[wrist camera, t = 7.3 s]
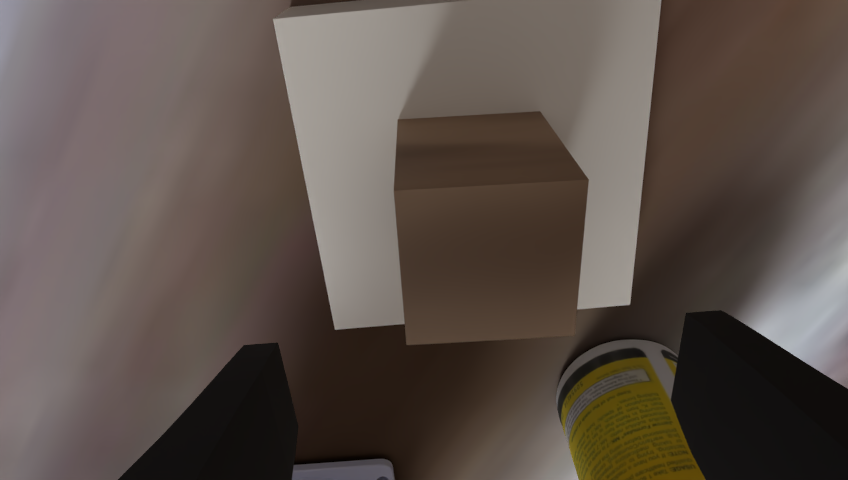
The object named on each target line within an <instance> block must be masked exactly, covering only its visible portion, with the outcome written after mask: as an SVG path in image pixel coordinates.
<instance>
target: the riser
mask: <svg viewBox="0 0 848 480" xmlns="http://www.w3.org/2000/svg"><path fill="white" fill-rule="evenodd" d="M660 9H661V0H357V1H347V2H336V3H326V4H315V5H305V6H295V7H289V8H288V9H286V10H285V11H284V12H282V13H281V14H279V15H278V16H277V17H275V18H274V19H273V22H274V27H275V32H276V37H277V42H278V47H279V52H280V57H281V62H282V67H283V72H284V77H285V82H286V87H287V92H288V97H289V102H290V107H291V112H292V117H293V122H294V127H295V132H296V137H297V142H298V147H299V152H300V157H301V162H302V167H303V172H304V177H305V182H306V187H307V192H308V197H309V202H310V207H311V212H312V217H313V222H314V227H315V232H316V237H317V242H318V247H319V252H320V257H321V263H322V268H323V273H324V278H325V283H326V288H327V293H328V298H329V303H330V308H331V313H332V318H333V323H334V328H335V330H339V329H351V328H362V327H374V326H386V325H398V324H405V322H404V310H403V298H402V286H401V273H400V261H399V249H398V237H397V225H396V213H395V201H394V175H395V157H396V140H397V122H398V119H414V118H431V117H448V116H466V115H483V114H501V113H518V112H535V111H540V112H541V113H542V115H543V116H544V117H545V119H546V120H547V122H548V123H549V124H550V126H551V127H552V129H553V130H554V131H555V133H556V134H557V136H558V137H559V138H560V140H561V141H562V143H563V144H564V145H565V147H566V148H567V150H568V151H569V153H570V154H571V155H572V157H573V158H574V160H575V161H576V162H577V164H578V165H579V167H580V168H581V169H582V171H583V172H584V174H585V175H586V176H587V178H588V179H589V183H588V194H587V205H586V216H585V227H584V238H583V249H582V260H581V272H580V283H579V294H578V305H577V309H587V308H599V307H610V306H622V305H630V301H631V291H632V281H633V272H634V262H635V252H636V243H637V233H638V223H639V213H640V204H641V194H642V184H643V174H644V165H645V155H646V145H647V136H648V126H649V116H650V106H651V97H652V87H653V77H654V68H655V58H656V48H657V38H658V29H659V19H660Z"/></svg>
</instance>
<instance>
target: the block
mask: <svg viewBox="0 0 848 480" xmlns="http://www.w3.org/2000/svg"><path fill="white" fill-rule="evenodd" d="M588 183H589V179H588V178H587V176H586V175H585V174H584V172H583V171H582V169H581V168H580V167H579V165H578V164H577V162H576V161H575V160H574V158H573V157H572V155H571V154H570V153H569V151H568V150H567V148H566V147H565V145H564V144H563V143H562V141H561V140H560V138H559V137H558V136H557V134H556V133H555V131H554V130H553V129H552V127H551V126H550V124H549V123H548V122H547V120H546V119H545V117H544V116H543V115H542V113H541V112H540V111H535V112H518V113H501V114H483V115H466V116H448V117H431V118H414V119H398V122H397V140H396V157H395V175H394V201H395V213H396V225H397V237H398V249H399V261H400V273H401V286H402V298H403V310H404V322H405V334H406V345H421V344H439V343H457V342H475V341H493V340H511V339H528V338H546V337H564V336H575V327H576V316H577V305H578V294H579V283H580V272H581V260H582V249H583V238H584V227H585V216H586V205H587V194H588Z"/></svg>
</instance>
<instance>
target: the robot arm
mask: <svg viewBox="0 0 848 480" xmlns="http://www.w3.org/2000/svg"><path fill="white" fill-rule="evenodd" d="M671 402H672V405H673V408H674V410H675V413H676V416H677V418H678V421H679V424H680V426H681V429H682V431H683V434H684V436H685V439H686V441H687V444H688V446H689V449H690V451H691V453H692V455H693V457H694V459H695V461H696V463H697V465H698V467H699V468H700V470H701V472H702V474H703V476H704V478H705V480H848V389H847V388H845V387H844V386H842V385H840V384H839V383H837V382H835V381H834V380H832V379H831V378H829V377H827V376H826V375H824V374H822V373H821V372H819V371H818V370H816V369H814V368H813V367H811V366H810V365H808V364H806V363H805V362H803V361H802V360H800V359H799V358H797V357H795V356H794V355H792V354H791V353H789V352H788V351H786V350H784V349H783V348H781V347H780V346H778V345H777V344H775V343H773V342H772V341H770V340H769V339H767V338H766V337H764V336H763V335H761V334H759V333H758V332H756V331H755V330H753V329H751V328H750V327H748V326H747V325H745V324H743V323H742V322H740V321H739V320H737V319H735V318H734V317H732V316H730V315H728V314H727V313H725V312H723V311H721V310H720V311H706V312H693V313H686V316H685V322H684V327H683V333H682V339H681V344H680V350H679V356H678V361H677V367H676V373H675V378H674V384H673V390H672V395H671ZM297 434H298V423H297V419H296V415H295V411H294V407H293V403H292V398H291V394H290V390H289V386H288V382H287V378H286V374H285V370H284V366H283V362H282V358H281V353H280V349H279V345H278V343H268V344H254V345H244V346H243V347H242V348H241V349H240V350H239V351H238V352H237V353H236V354H235V356H234V357H233V358H232V359H231V360H230V361H229V362H228V363H227V364H226V365H225V367H224V368H223V369H222V370H221V371H220V372H219V373H218V374H217V376H216V377H215V378H214V379H213V380H212V381H211V382H210V384H209V385H208V386H207V387H206V388H205V389H204V390H203V391H202V393H201V394H200V395H199V396H198V397H197V398H196V399H195V400H194V402H193V403H192V404H191V405H190V406H189V407H188V408H187V409H186V410H185V411H184V412H183V413H182V415H181V416H180V417H179V418H178V419H177V420H176V421H175V422H174V423H173V424H172V425H171V426H170V428H169V429H168V430H167V431H166V432H165V433H164V434H163V435H162V436H161V437H160V438H159V439H158V440H157V441H156V442H155V443H154V444H153V445H152V446H151V447H150V448H149V449H148V450H147V451H146V452H145V453H144V454H143V455H142V456H141V457H140V458H139V459H138V460H137V461H136V462H135V463H134V464H133V465H132V466H131V467H130V468H129V469H128V470H127V471H126V472H125V473H124V474H123V475H122V476H121V477H120V478H119V479H118V480H395V477H394V470H393V465H392V463H391V462H390V461H389V460H386V459H369V460H355V461H341V462H328V463H314V464H300V465H294V460H295V452H296V443H297ZM382 476H383V477H382Z"/></svg>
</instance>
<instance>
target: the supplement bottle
mask: <svg viewBox="0 0 848 480" xmlns="http://www.w3.org/2000/svg"><path fill="white" fill-rule="evenodd" d="M677 361H678V355H677V354H676V353H674V352H673V351H672V350H670V349H669V348H667V347H665V346H663V345H661V344H659V343H655V342H652V341H647V340H634V339H630V340H617V341H612V342H608V343H604V344H601V345H599V346H596V347H594V348H592V349H590V350H588V351H587V352H585V353H584V354H582V355H581V356H579V357H578V358H577V359H576V360H575V361H574V362H573V363H572V364H571V365H570V366H569V367H568V368H567V369H566V371H565V372H564V374H563V376H562V378H561V380H560V382H559V385H558V389H557V394H556V402H557V409H558V414H559V418H560V421H561V424H562V426H563V430H564V433H565V436H566V439H567V442H568V445H569V449H570V452H571V455H572V458H573V462H574V465H575V468H576V472H577V475H578V478H579V480H705V478H704V476H703V474H702V472H701V470H700V468H699V467H698V465H697V463H696V461H695V459H694V457H693V455H692V453H691V451H690V449H689V446H688V444H687V441H686V439H685V436H684V434H683V431H682V429H681V426H680V424H679V421H678V418H677V416H676V413H675V410H674V408H673V405H672V402H671V395H672V390H673V384H674V378H675V373H676V367H677Z"/></svg>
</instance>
